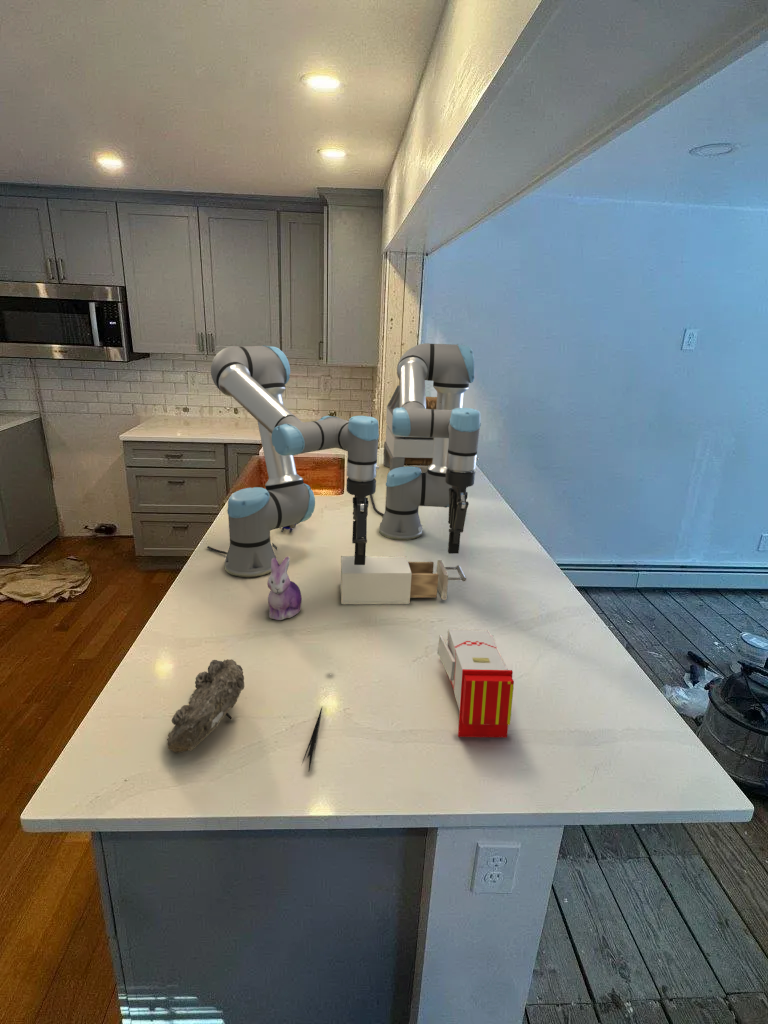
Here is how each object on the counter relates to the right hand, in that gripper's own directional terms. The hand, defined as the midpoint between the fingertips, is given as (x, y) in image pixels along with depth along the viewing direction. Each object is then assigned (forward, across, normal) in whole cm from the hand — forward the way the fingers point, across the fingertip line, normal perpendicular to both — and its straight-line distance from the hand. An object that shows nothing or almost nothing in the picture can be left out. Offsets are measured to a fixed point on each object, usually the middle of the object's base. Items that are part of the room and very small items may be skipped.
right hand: (453, 552), depth 155 cm
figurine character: (+13, +50, +48) cm, 70 cm away
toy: (+13, -43, +4) cm, 45 cm away
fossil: (+13, -48, +56) cm, 75 cm away
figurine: (+13, -9, +45) cm, 48 cm away
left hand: (0, 0, +26) cm, 26 cm away
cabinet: (+13, 0, +21) cm, 25 cm away
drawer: (+12, 0, +8) cm, 14 cm away
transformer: (+13, +123, -10) cm, 124 cm away
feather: (+13, -50, +36) cm, 63 cm away
